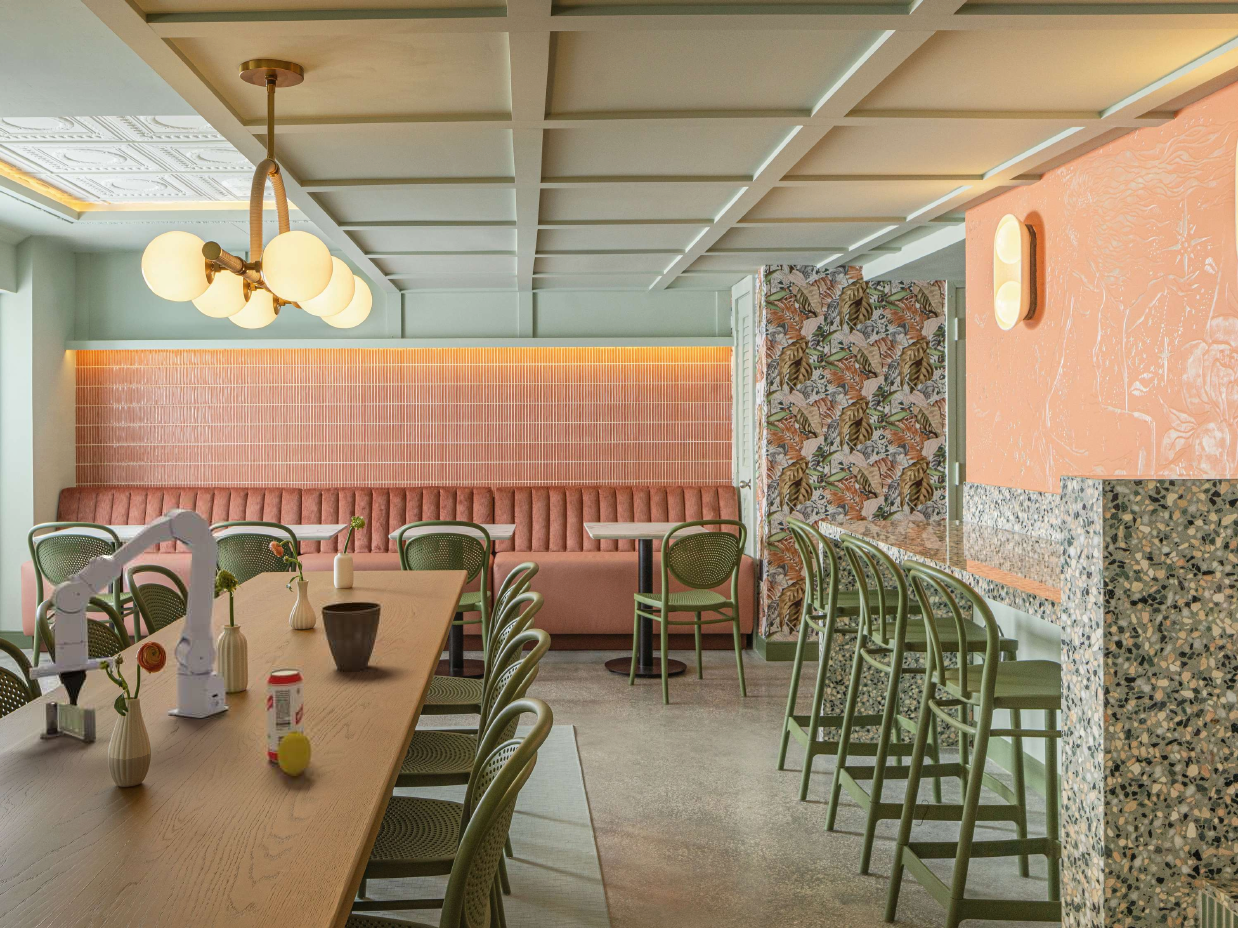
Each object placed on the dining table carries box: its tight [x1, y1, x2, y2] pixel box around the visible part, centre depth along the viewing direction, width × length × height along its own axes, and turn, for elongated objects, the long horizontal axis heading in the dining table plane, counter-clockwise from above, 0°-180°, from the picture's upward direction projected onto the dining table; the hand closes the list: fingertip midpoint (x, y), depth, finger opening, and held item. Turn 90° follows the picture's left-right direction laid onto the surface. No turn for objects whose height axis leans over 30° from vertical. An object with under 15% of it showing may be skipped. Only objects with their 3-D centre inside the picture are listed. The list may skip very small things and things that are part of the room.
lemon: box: [278, 730, 312, 777], centre depth 165 cm, size 6×6×8 cm
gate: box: [58, 701, 97, 742], centre depth 188 cm, size 12×2×6 cm, turn 55°
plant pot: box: [320, 601, 382, 672], centre depth 246 cm, size 15×15×16 cm
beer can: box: [266, 668, 305, 764], centre depth 174 cm, size 6×6×16 cm
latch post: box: [39, 701, 65, 740], centre depth 189 cm, size 4×4×6 cm
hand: (73, 708), depth 191 cm, fingers closed, pressing on gate
